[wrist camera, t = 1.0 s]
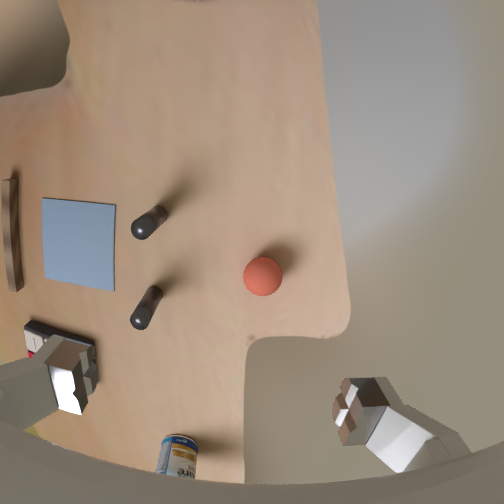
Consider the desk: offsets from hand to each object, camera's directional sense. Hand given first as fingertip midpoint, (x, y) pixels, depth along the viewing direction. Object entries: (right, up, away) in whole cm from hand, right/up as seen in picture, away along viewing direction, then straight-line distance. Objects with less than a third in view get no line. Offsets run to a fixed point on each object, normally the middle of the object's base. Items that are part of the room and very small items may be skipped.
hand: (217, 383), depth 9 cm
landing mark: (-27, +5, +36) cm, 45 cm away
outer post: (-14, -2, +39) cm, 41 cm away
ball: (+3, +1, +36) cm, 36 cm away
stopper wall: (-41, +7, +35) cm, 54 cm away
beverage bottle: (-15, -39, +50) cm, 65 cm away
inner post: (-12, +9, +35) cm, 38 cm away
